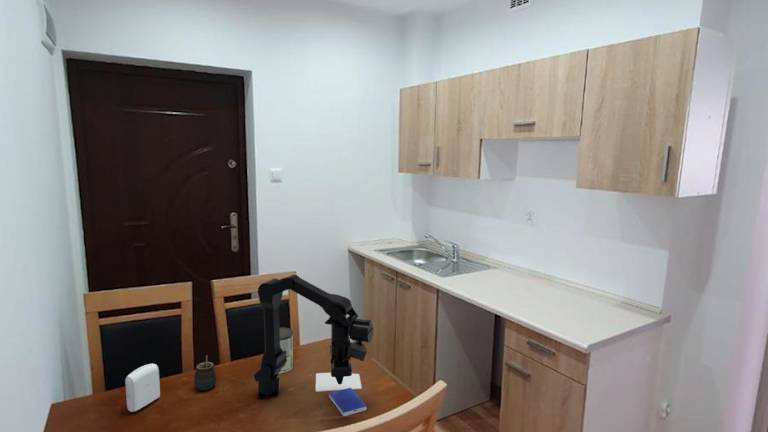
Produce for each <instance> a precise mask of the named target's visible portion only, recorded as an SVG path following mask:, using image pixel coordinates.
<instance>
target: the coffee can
mask: <svg viewBox="0 0 768 432" xmlns="http://www.w3.org/2000/svg"><path fill="white" fill-rule="evenodd" d="M279 332H280V347H281V349H282V350H283V351H286V352H287V353H286V359H287V362H286V363H285V366H284V367H283V368H282V369H281V371H280V372H279V373H278V374H283V373H284V374H285V373H287V372H289V371H291V370H292V368H293V367H294V353H293V352H294V351H293V349H294V345H293V343H294V341H293V340H294V339H293V335H294V334H293V333H294V331H293V329H291V328H289V327H279Z"/></svg>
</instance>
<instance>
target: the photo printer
mask: <svg viewBox="0 0 768 432" xmlns="http://www.w3.org/2000/svg"><path fill="white" fill-rule="evenodd" d="M124 383H125V395H126V398H125V399H126V408H127V410H128V411H129V412H131V413H134V412H137V411H139V410H141V409H142V408H144V407H146V406H147V405H149V404H151V403H152V402H155V400H158V398H160V396H161V384H160V369H159V366H158V365H157V364H155V363H149V364H148V363H147V364H145V365H142V366H140V367H138V368H136V369H134V370H133V371H132V372H130V373H129V374H128V375H127V376H126V378H125V379H124Z"/></svg>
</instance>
